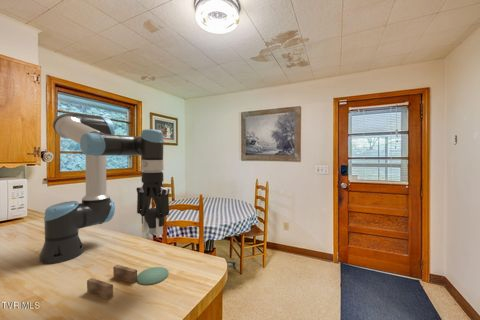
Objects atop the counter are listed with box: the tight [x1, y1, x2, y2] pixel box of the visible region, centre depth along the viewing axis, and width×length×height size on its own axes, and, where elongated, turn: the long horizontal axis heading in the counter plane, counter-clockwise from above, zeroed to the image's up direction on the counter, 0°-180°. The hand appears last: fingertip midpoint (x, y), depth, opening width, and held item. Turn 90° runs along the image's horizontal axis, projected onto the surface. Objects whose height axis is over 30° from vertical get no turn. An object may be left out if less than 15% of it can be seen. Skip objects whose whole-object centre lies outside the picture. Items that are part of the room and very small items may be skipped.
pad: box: [136, 266, 169, 286], centre depth 80 cm, size 11×11×1 cm
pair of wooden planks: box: [86, 264, 138, 301], centre depth 74 cm, size 10×11×4 cm
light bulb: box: [145, 207, 158, 236], centre depth 80 cm, size 6×6×10 cm
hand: (152, 233), depth 80 cm, fingers closed on light bulb, 6 cm apart
